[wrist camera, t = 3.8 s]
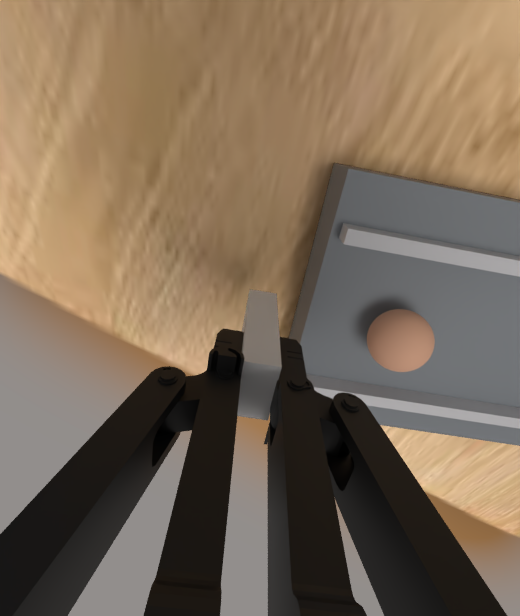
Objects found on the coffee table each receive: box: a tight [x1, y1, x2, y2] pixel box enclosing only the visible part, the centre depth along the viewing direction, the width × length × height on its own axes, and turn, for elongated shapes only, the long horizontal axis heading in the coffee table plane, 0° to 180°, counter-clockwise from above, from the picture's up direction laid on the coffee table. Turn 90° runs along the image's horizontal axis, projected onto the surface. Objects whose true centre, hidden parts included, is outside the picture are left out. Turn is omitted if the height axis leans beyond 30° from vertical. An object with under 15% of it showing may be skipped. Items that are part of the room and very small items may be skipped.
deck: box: [289, 163, 520, 446], centre depth 22 cm, size 16×26×6 cm, turn 80°
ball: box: [367, 309, 435, 372], centre depth 19 cm, size 4×4×4 cm
